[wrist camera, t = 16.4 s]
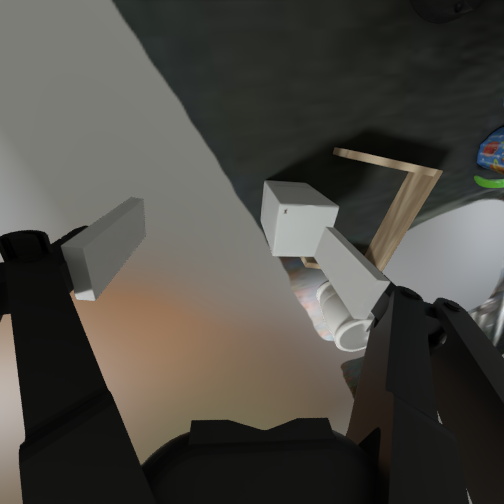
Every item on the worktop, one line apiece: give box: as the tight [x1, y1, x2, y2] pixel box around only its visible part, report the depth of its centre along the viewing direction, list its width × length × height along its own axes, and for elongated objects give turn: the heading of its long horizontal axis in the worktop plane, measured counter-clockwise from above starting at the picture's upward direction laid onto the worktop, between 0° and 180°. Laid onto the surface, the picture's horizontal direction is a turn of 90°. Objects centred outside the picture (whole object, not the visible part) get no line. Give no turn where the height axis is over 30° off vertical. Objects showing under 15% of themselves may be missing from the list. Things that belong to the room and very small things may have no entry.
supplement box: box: [261, 180, 339, 257], centre depth 38 cm, size 9×9×15 cm
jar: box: [317, 281, 374, 352], centre depth 52 cm, size 11×10×15 cm
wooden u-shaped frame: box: [300, 147, 443, 272], centre depth 45 cm, size 19×24×6 cm
